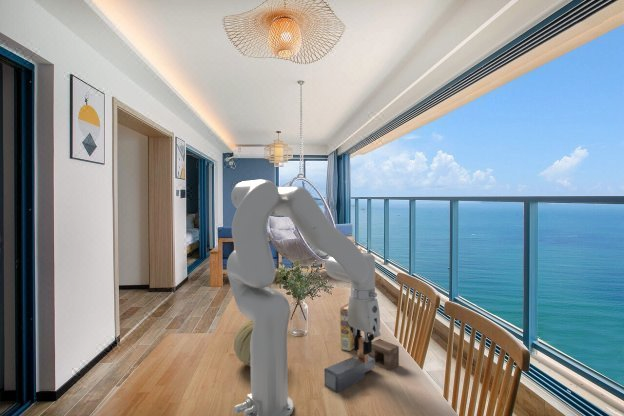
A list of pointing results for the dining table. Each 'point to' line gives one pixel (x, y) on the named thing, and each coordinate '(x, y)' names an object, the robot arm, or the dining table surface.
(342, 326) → the candy box
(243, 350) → the cantaloupe
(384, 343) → the socket
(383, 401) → the dining table surface
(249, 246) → the robot arm
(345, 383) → the dark grey rectangular box
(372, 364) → the sliding latch bolt
